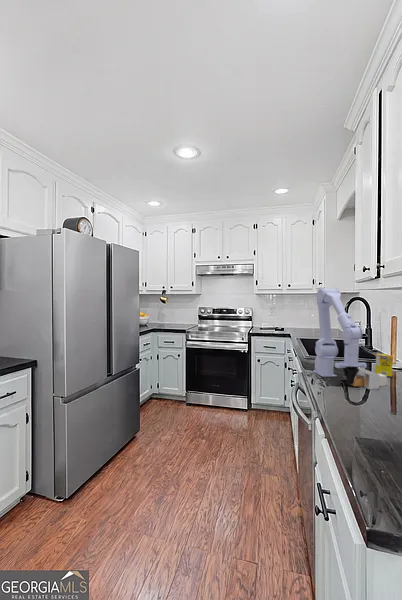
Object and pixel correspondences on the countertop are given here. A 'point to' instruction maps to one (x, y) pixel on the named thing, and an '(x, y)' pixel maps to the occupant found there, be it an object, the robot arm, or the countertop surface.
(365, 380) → the housing
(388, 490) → the countertop surface
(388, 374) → the supplement box
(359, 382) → the plug
